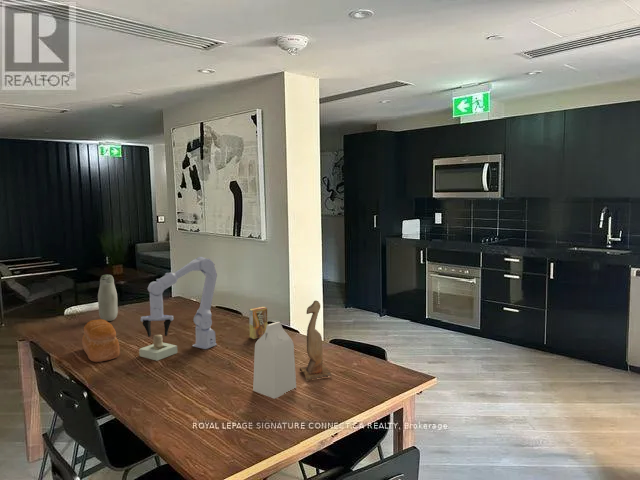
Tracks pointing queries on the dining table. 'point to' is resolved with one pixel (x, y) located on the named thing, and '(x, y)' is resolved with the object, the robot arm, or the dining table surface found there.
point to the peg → (158, 342)
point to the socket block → (158, 351)
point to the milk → (274, 362)
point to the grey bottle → (107, 298)
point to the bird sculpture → (314, 348)
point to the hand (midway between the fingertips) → (157, 335)
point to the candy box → (257, 322)
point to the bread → (100, 341)
